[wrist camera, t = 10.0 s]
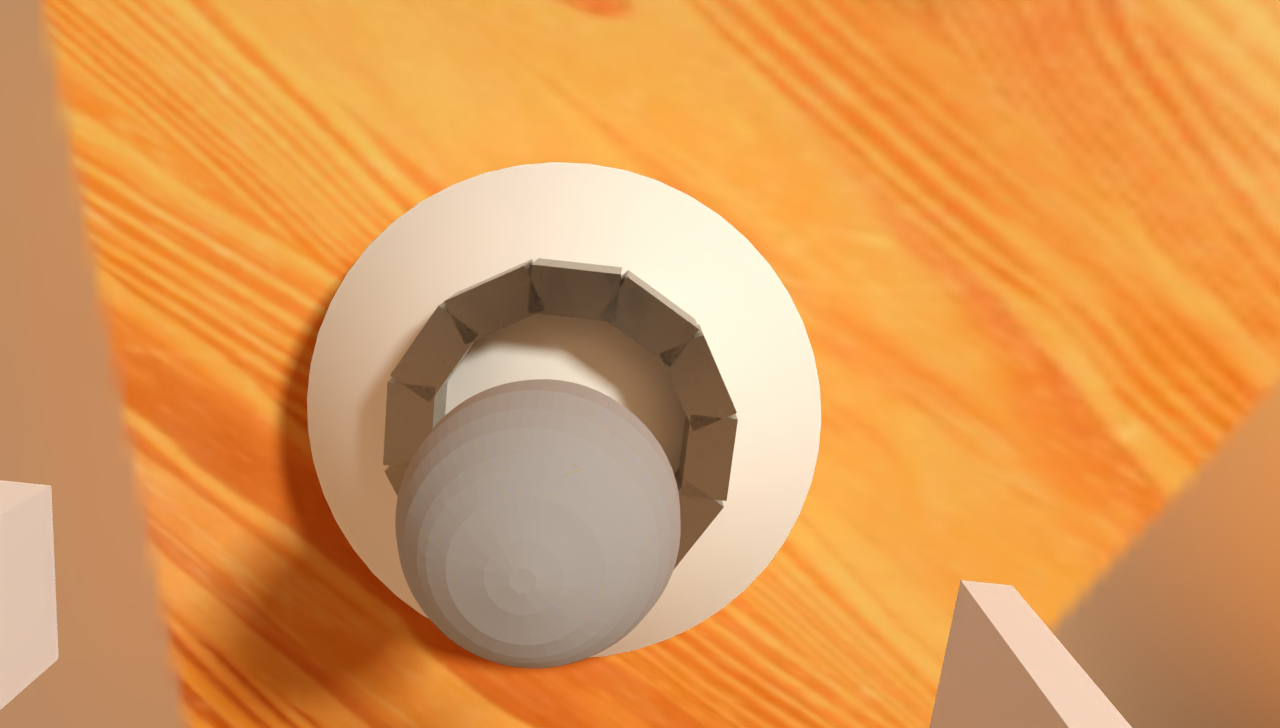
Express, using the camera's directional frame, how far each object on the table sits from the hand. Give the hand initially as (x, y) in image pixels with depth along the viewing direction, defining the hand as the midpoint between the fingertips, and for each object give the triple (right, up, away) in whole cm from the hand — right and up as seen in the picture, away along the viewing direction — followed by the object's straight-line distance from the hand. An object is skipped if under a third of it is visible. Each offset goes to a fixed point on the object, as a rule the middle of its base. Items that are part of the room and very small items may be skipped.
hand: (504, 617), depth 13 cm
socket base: (0, +2, +14) cm, 14 cm away
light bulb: (0, +2, +12) cm, 12 cm away
